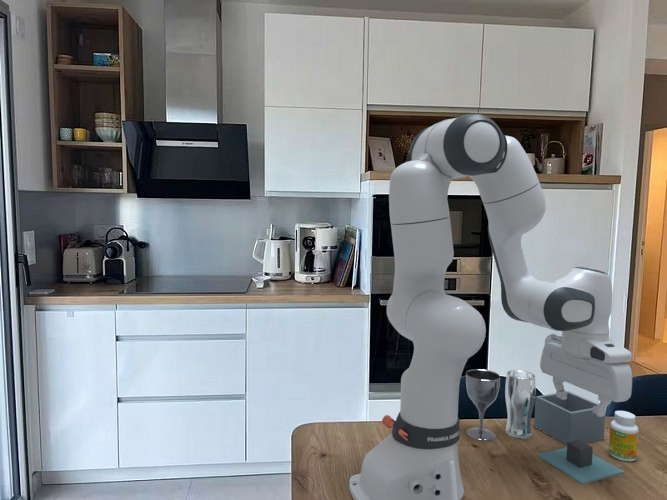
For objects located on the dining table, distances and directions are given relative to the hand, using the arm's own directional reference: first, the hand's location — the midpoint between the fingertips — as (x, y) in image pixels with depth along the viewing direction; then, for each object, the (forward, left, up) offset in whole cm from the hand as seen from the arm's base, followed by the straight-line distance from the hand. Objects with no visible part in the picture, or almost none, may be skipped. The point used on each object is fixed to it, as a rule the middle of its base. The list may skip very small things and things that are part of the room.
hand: (579, 406), depth 102 cm
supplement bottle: (+13, -1, -13) cm, 19 cm away
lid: (+1, 0, -14) cm, 14 cm away
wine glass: (-10, +19, -13) cm, 25 cm away
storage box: (+11, +12, -13) cm, 21 cm away
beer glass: (-1, +16, -13) cm, 21 cm away
